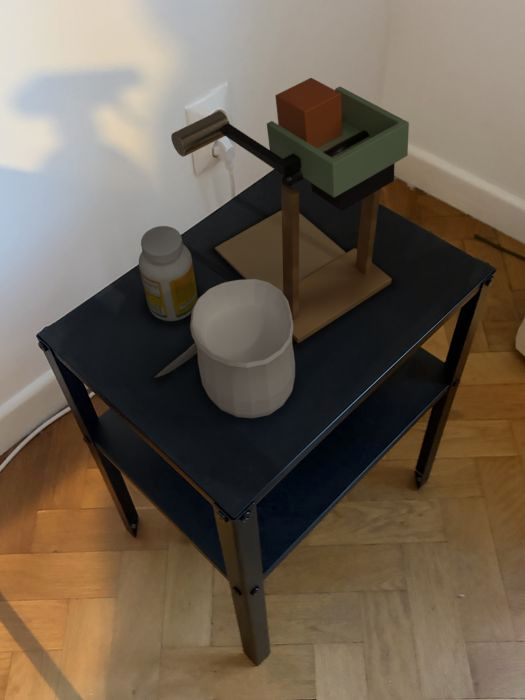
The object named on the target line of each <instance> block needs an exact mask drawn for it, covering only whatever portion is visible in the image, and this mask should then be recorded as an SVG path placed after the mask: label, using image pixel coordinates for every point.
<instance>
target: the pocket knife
mask: <svg viewBox="0 0 525 700" xmlns="http://www.w3.org/2000/svg"><path fill="white" fill-rule="evenodd" d="M196 355H198V353H197V346H196V343H195V342H194V343H192V345H191V346H189V348H187V349H186V350H185V351H184V352H183V353H181V354H180V355H179V356H177V358H175V359H174V360H173V361H172V362H170V363H169V364H168V365H167V366H166V367H164V368H163V369H162V370H160V372H158V373H157V374H156V375H155V376H154V378H155V379H156V378H159V377H162V376H165V375H166V374H169V373H171V372H172V371H174V370H176V369H177V368H178V367H180V366H181V365H183V364H184V363H186V362H187V361H189V360H190V359H192V358H193V357H194V356H196Z"/></svg>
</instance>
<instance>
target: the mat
mask: <svg viewBox="0 0 525 700" xmlns="http://www.w3.org/2000/svg"><path fill="white" fill-rule="evenodd" d="M214 250H215V252H216V253H218V255H219V256H220V257H221V258H222V259H224V260H225V262H227V264H229V265H230V266H231V267H232V268H233V269H234V270H235V271H236V272H237V273H238V274H239V275H240V276H241V277H242V278H243V280H247V279H257V280H261V281H265V282H269V283H270V284H272V285H273V286H275V287H276V288H278V289H279V290H281V291H282V292H283V251H282V209H281V210H278V211H277V212H276V213H274V214H272V215H270V216H269V217H268V216H267V218H265V219H263V220H261V221H260V222H257V223H256V224H254V225H252V226H251V227H248V228H247V229H245V230H243V231H242V232H240V233H237V234H236V235H235V236H233V237H231V238H230V239H229V238H228V240H226V241H224V242H222V243H220V244H219V245H216V246H215V247H214ZM346 253H347V252H346V251H345V250H344V249H342V247H341V246H339V245H338V244H336V242H334V240H332V239H331V238H329V236H327V235H326V234H325V233H324V232H322V230H320V229H319V228H318V227H317V226H316V225H315V224H313V223H312V222H311V221H310V220H309V219H307V217H305V216H304V215H303V214H301V213H300V212H299V282H300V281H301V280H303V279H305V278H306V277H308V276H310V275H311V274H313V273H315V272H316V271H318V270H319V269H321V268H323V267H324V266H326V265H328V264H329V263H331V262H333V261H334V260H336V259H337V258H339V257H341V256H342V255H344V254H346Z"/></svg>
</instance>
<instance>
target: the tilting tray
mask: <svg viewBox="0 0 525 700" xmlns="http://www.w3.org/2000/svg"><path fill="white" fill-rule="evenodd" d="M334 90H335V91H337V92H339V93H341V110H342V135H341V136H339V137H337V138H336V139H334V140H332V141H330V142H328V143H326V144H324V145H323V146H321V147H319V148H315V147H314V146H312V145H310V144H309V143H307V142H305V141H304V140H302V139H301V138H299V137H297V136H296V135H294V134H292V133H291V132H289V131H287V130H286V129H284V128H283V127H281V126H279V125H278V123H276V122H274V121H272V120H271V121H269V122H267V123H266V129H267V139H268V147H269V149H268V148H267V147H266V146H265V145H263V144H261V143H260V142H258V141H257V140H255V139H253V138H252V137H251V136H249V135H247V134H246V133H244V132H243V131H241V130H240V129H238V128H237V127H235V126H234V125H232V124H231V123H230V120H229V119H228V116H227V115H226V114H225V113H224V112H223V111H221V110H217V111H215V112H213V113H211V114H210V115H207V116H205V117H202V118H200V119H199V120H197V121H195V122H192V123H190V124H189V125H187V126H184V127H182V128H180V129H178V130H176V131H174V132H172V133H171V135H170V136H171V137H170V138H171V142H172V145H173V148H174V149H175V151H176V153H177V154H178V155H179V156H180V157H182V158H183V157H186V156H189V155H190V154H192V153H194V152H196V151H198V150H201V149H202V148H205V147H206V146H208V145H210V144H212V143H214V142H216V141H218V140H220V139H222V138H225V137H226V138H228V139H229V140H230V141H232V142H234V143H235V144H237V145H238V146H239V147H241V148H242V149H244V150H245V151H247V152H248V153H249V154H251V155H253V156H254V157H256V158H257V159H258V160H260V161H262V162H263V163H265V164H266V165H267V166H269V167H270V168H272V169H274V170H275V171H276V172H277V173H278V174H279V175H281V178H280V181H281V183H282V186H291V187H293V185H296V184H298V183H299V182H301V181H303V180H304V179H305V180H307V181H308V182H309V183H311V192H312V193H314V194H316V195H317V196H318V197H320V198H321V199H323V200H324V201H325V202H327V203H329V204H330V205H331V206H333V207H334V208H336V209H338V210H339V211H340V212H343V211H345V210H347V209H349V208H350V207H352V206H354V205H356V204H357V203H358V202H359V203H360V201H361V202H362V199H364V198H366V197H367V196H369V195H371V194H373V193H374V192H376V191H378V190H379V189H383V188H385V187H387V186H388V185H390V184H392V183H393V182H394V181H395V164H396V163H398V162H399V161H401V160H403V159H404V158H406V157H408V154H409V153H408V152H409V151H408V150H409V130H410V122H409V121H408V120H405V119H403V118H401V117H399V116H397V115H396V114H393V113H391V112H390V111H388V110H386V109H384V108H383V107H381V106H379V105H377V104H374V103H372V102H370V101H369V100H368V99H365V98H363V97H361V96H359V95H357V94H355V93H353V92H351V90H348V89H346V88H345V87H342V86H338V87H336V88H334Z"/></svg>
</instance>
